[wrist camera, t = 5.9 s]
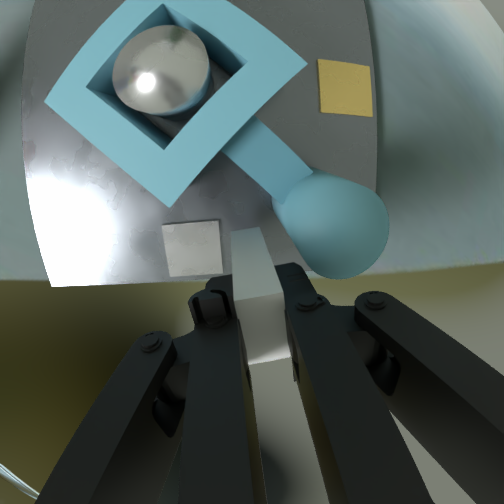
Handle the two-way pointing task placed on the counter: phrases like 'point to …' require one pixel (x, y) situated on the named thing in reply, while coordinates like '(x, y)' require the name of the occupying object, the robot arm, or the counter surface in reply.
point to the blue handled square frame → (222, 130)
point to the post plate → (171, 123)
